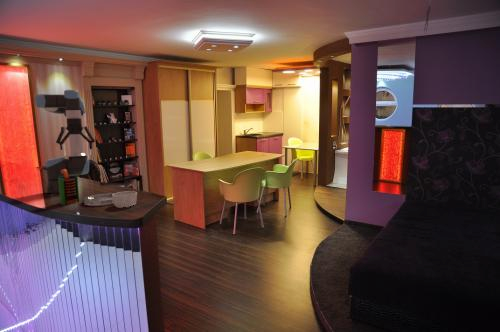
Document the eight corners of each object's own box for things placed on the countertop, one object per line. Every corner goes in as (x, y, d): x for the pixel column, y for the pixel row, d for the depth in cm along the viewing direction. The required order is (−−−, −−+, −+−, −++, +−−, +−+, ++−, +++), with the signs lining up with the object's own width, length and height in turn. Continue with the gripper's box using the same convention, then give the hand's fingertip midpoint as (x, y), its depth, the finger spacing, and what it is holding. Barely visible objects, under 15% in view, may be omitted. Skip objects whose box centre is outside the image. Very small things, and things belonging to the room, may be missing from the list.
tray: (80, 201, 205) (80, 196, 205) (114, 196, 217) (114, 192, 217) (88, 208, 189) (87, 203, 189) (124, 202, 201) (124, 197, 201)
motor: (69, 205, 196) (66, 171, 194) (56, 204, 198) (52, 170, 195) (81, 200, 206) (78, 168, 203) (68, 200, 208) (65, 168, 205)
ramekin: (111, 209, 186) (110, 197, 185) (114, 203, 198) (113, 192, 197) (137, 207, 189) (136, 195, 188) (138, 201, 202) (137, 190, 201)
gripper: (47, 118, 186) (51, 156, 190) (95, 117, 191) (98, 155, 194) (52, 118, 194) (56, 155, 197) (98, 117, 198) (101, 153, 201)
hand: (77, 155), depth 195 cm, fingers open, 13 cm apart
